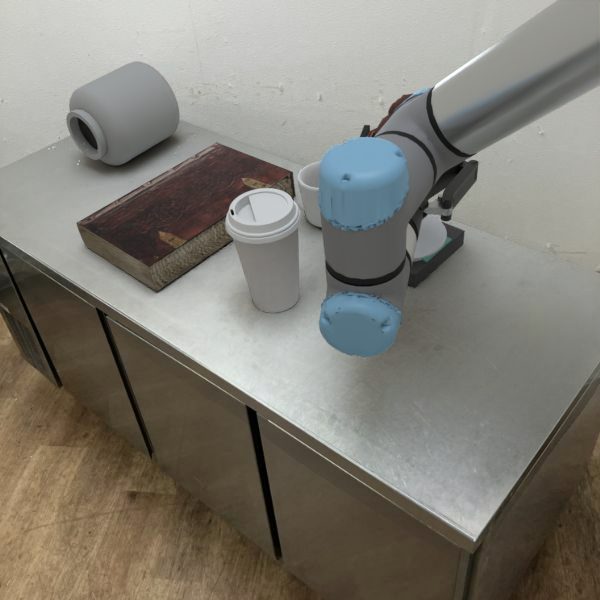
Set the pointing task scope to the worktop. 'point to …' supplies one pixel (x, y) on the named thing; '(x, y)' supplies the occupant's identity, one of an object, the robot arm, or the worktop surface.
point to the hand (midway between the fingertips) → (410, 135)
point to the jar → (122, 113)
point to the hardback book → (178, 214)
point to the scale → (433, 247)
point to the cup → (310, 192)
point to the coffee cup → (267, 246)
